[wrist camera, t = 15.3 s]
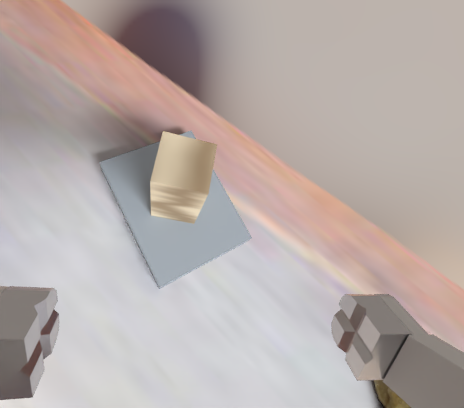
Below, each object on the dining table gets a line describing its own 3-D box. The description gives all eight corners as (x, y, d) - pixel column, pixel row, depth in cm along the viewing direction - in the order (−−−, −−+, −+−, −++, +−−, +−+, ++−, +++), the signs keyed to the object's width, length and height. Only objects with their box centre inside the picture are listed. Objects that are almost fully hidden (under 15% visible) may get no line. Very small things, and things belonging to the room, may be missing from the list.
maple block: (150, 215, 34) (150, 180, 25) (160, 176, 36) (162, 131, 27) (194, 223, 35) (208, 193, 26) (201, 185, 37) (216, 144, 28)
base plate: (103, 173, 38) (99, 162, 35) (188, 142, 42) (191, 130, 39) (159, 289, 35) (159, 287, 32) (244, 243, 39) (251, 237, 36)
